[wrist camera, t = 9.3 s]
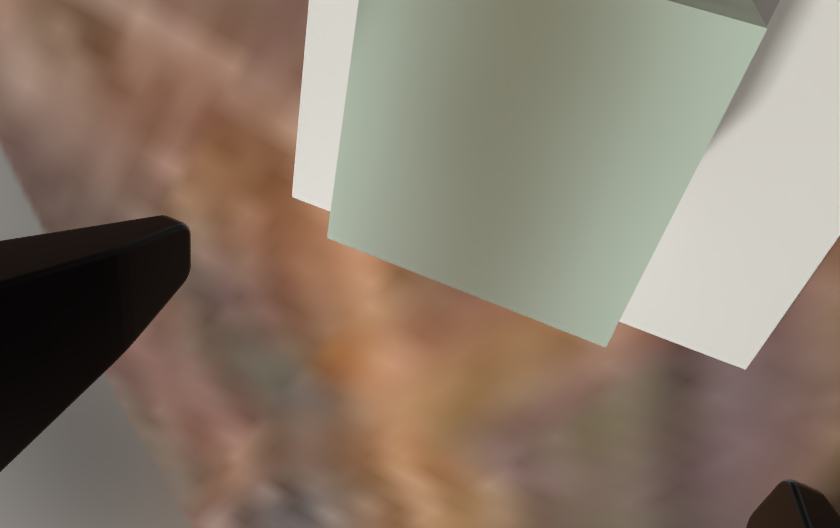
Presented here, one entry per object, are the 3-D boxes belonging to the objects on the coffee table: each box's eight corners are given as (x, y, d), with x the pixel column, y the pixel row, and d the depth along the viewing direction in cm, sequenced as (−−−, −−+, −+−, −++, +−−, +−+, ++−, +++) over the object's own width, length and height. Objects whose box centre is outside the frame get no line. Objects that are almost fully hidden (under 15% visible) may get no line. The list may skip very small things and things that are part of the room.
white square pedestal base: (1191, -308, 11) (1401, -392, 8) (743, 350, 20) (753, 438, 17) (368, -437, 14) (271, -535, 11) (305, 186, 23) (243, 234, 20)
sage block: (736, -28, 12) (767, 28, 7) (634, 197, 15) (605, 346, 10) (491, -93, 13) (370, -83, 8) (439, 130, 16) (327, 238, 11)
